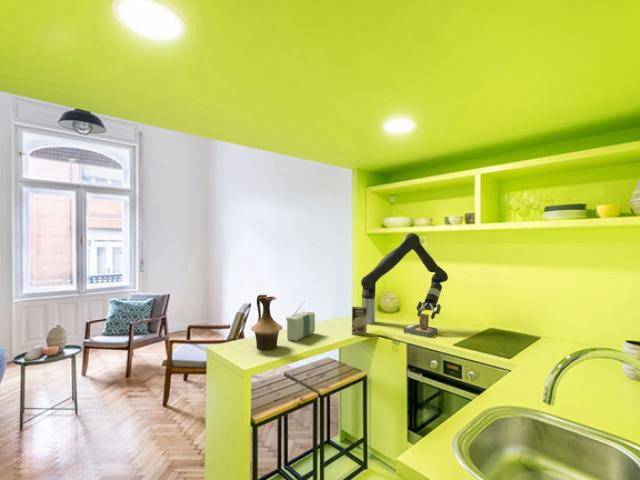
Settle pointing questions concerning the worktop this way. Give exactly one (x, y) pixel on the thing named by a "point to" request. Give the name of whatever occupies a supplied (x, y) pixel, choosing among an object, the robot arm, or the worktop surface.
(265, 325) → the pitcher
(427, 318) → the reddish brown block
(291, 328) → the stereo radio cassette player
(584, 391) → the worktop surface
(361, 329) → the coffee box
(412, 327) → the keypad
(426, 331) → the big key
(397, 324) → the worktop surface
